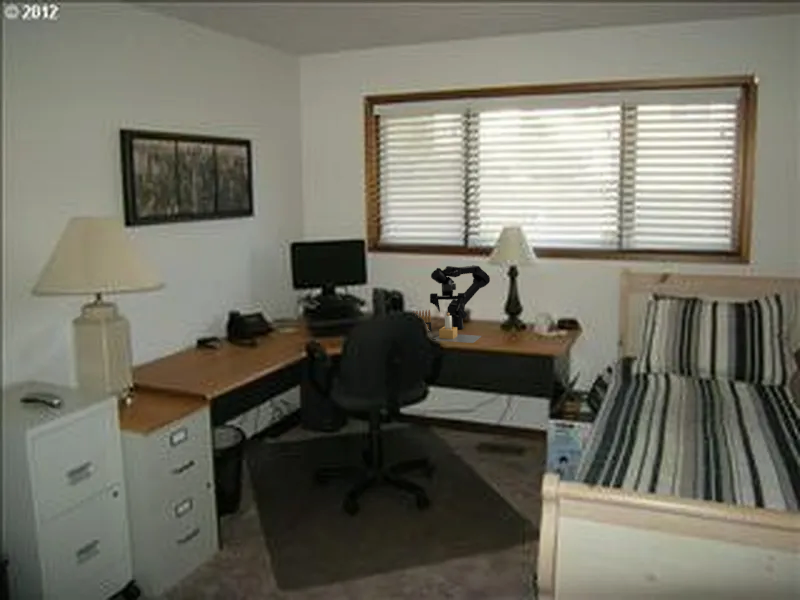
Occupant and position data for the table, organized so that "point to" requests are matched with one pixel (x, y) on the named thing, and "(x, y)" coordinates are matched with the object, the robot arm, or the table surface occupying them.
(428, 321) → the ammunition clip
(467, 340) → the plate
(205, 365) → the table surface
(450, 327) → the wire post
